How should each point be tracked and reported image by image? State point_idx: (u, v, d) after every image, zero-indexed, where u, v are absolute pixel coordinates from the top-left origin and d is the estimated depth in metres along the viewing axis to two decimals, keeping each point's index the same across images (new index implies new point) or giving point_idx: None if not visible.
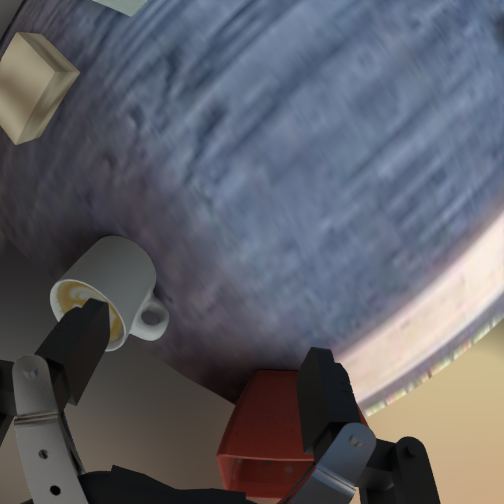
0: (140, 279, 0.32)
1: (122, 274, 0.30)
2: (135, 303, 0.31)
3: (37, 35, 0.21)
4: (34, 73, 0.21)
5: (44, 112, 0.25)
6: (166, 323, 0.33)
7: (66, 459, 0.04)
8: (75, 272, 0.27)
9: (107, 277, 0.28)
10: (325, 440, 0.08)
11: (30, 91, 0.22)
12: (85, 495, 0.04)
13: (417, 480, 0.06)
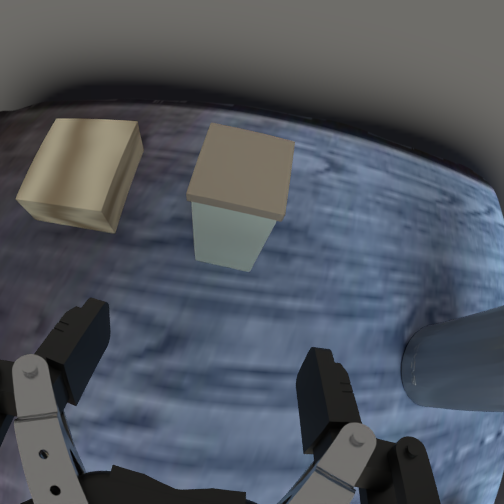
0: None
1: None
2: None
3: (140, 147, 0.29)
4: (93, 180, 0.23)
5: (58, 216, 0.24)
6: None
7: (66, 459, 0.04)
8: None
9: None
10: (325, 440, 0.08)
11: (72, 187, 0.23)
12: (85, 495, 0.04)
13: (417, 480, 0.06)
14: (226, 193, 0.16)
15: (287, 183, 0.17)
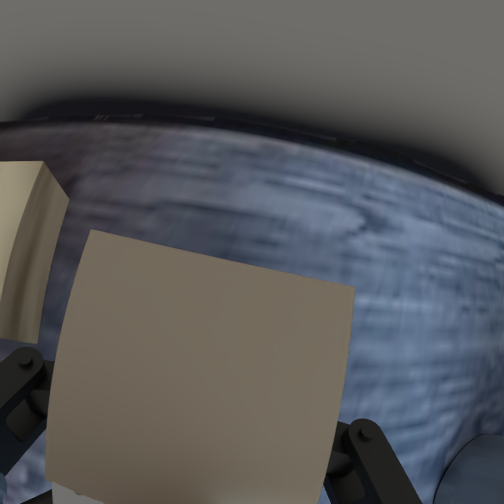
0: None
1: None
2: None
3: (60, 198, 0.17)
4: None
5: None
6: None
7: None
8: None
9: None
10: None
11: None
12: None
13: (379, 463, 0.06)
14: (142, 496, 0.04)
15: (326, 450, 0.05)
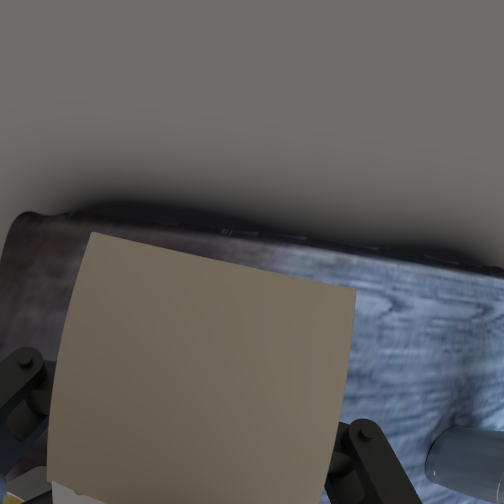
0: None
1: None
2: None
3: None
4: None
5: None
6: None
7: None
8: None
9: None
10: None
11: None
12: None
13: (379, 463, 0.06)
14: (144, 499, 0.04)
15: (327, 452, 0.05)
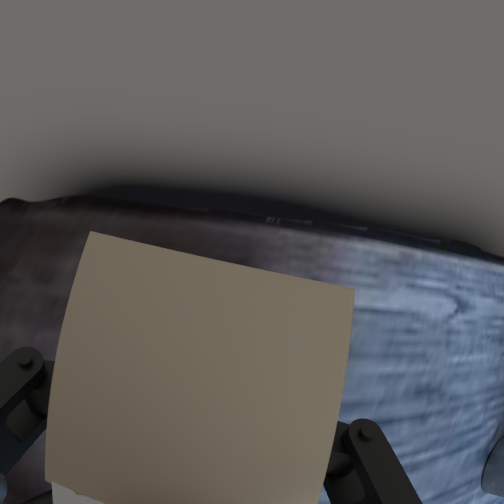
0: None
1: None
2: None
3: None
4: None
5: None
6: None
7: None
8: None
9: None
10: None
11: None
12: None
13: (379, 463, 0.06)
14: (142, 498, 0.04)
15: (325, 452, 0.05)
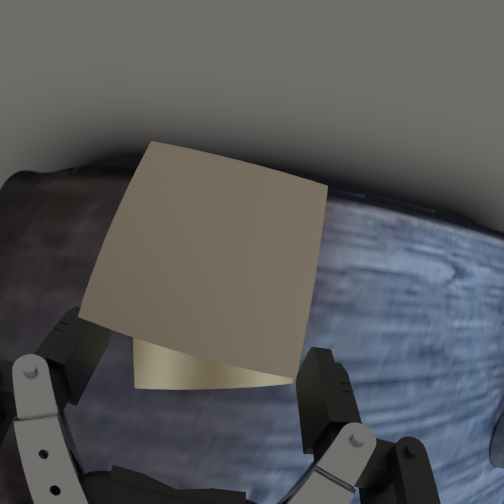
0: None
1: None
2: None
3: None
4: None
5: None
6: None
7: (66, 459, 0.04)
8: None
9: None
10: (325, 440, 0.08)
11: None
12: (85, 495, 0.04)
13: (417, 480, 0.06)
14: (161, 323, 0.07)
15: (308, 294, 0.07)
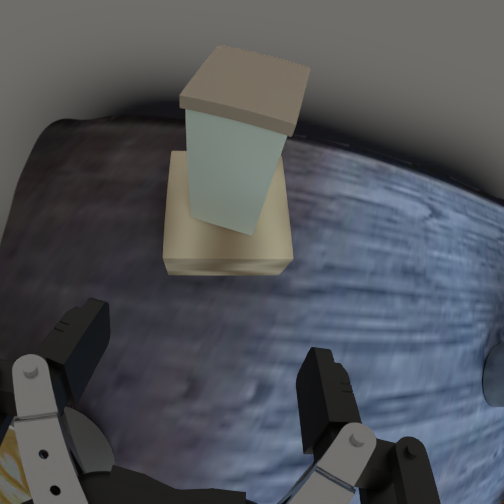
0: None
1: None
2: None
3: None
4: (268, 226, 0.24)
5: (218, 268, 0.25)
6: None
7: (66, 459, 0.04)
8: None
9: None
10: (325, 440, 0.08)
11: (245, 236, 0.24)
12: (85, 495, 0.04)
13: (417, 480, 0.06)
14: (226, 98, 0.12)
15: (300, 98, 0.13)
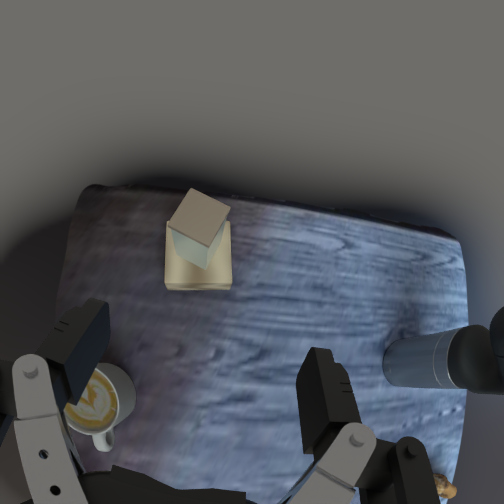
0: (125, 417, 0.36)
1: (126, 407, 0.35)
2: None
3: None
4: (219, 265, 0.46)
5: (194, 287, 0.46)
6: None
7: (66, 459, 0.04)
8: (112, 379, 0.34)
9: (123, 402, 0.34)
10: (325, 440, 0.08)
11: (206, 270, 0.45)
12: (85, 495, 0.04)
13: (417, 480, 0.06)
14: (185, 228, 0.34)
15: (216, 230, 0.34)
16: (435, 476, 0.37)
